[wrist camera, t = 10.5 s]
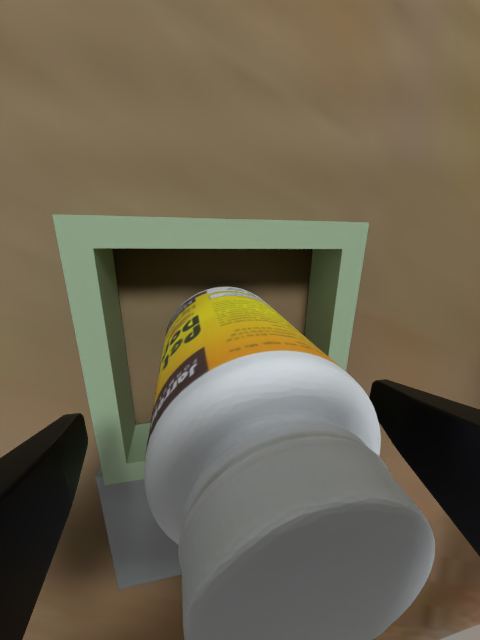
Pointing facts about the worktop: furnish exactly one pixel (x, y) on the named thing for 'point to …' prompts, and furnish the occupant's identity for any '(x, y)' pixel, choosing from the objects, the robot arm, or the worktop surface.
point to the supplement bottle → (275, 483)
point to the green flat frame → (110, 353)
